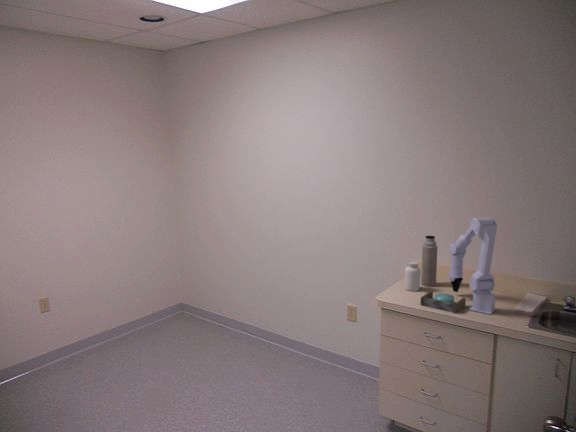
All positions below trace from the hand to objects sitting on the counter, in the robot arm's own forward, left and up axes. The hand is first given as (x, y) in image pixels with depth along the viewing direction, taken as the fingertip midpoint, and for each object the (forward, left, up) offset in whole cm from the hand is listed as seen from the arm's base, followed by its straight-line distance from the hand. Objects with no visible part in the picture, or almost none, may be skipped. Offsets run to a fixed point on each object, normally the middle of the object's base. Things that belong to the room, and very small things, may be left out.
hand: (455, 291), depth 221 cm
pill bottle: (+22, +4, -2) cm, 23 cm away
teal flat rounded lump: (0, +16, -2) cm, 16 cm away
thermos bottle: (+18, -9, -2) cm, 20 cm away
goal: (0, +18, -2) cm, 18 cm away
